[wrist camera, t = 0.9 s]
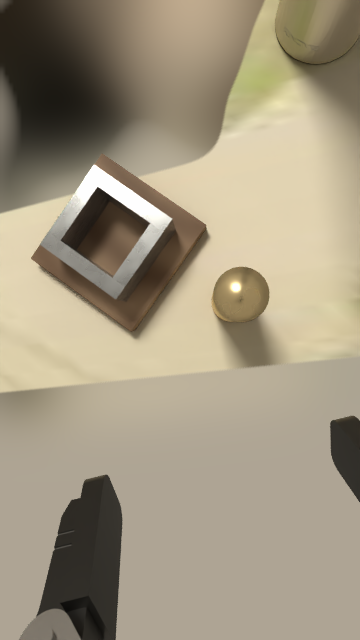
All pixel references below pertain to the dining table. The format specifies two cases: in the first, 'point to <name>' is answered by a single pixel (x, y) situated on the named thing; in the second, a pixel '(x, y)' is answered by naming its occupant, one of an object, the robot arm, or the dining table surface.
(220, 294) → the gold dome cylinder
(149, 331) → the dining table surface
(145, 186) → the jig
